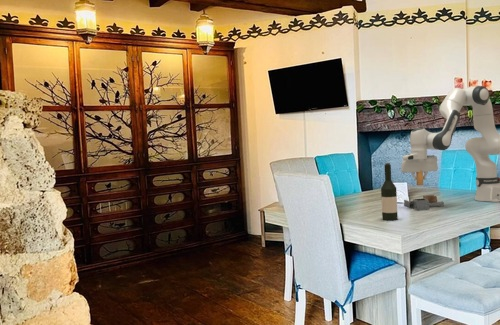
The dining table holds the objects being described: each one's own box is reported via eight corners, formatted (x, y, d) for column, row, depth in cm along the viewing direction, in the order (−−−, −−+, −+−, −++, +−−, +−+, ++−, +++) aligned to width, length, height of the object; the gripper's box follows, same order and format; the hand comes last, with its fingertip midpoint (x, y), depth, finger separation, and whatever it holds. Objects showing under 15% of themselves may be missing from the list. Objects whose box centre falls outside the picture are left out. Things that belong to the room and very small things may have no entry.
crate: (433, 203, 269) (432, 194, 268) (437, 204, 263) (436, 196, 262) (423, 203, 269) (422, 195, 269) (426, 205, 263) (426, 196, 263)
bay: (436, 203, 271) (436, 197, 271) (443, 206, 261) (443, 200, 261) (404, 205, 271) (404, 199, 271) (409, 208, 261) (409, 202, 261)
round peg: (422, 184, 257) (421, 169, 257) (424, 185, 254) (423, 169, 253) (415, 184, 258) (415, 169, 257) (418, 185, 254) (417, 170, 253)
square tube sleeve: (424, 207, 260) (424, 198, 260) (429, 209, 253) (428, 200, 253) (412, 208, 260) (412, 199, 260) (417, 210, 253) (416, 200, 253)
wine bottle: (379, 218, 238) (376, 163, 236) (394, 217, 238) (391, 162, 237) (385, 221, 229) (382, 164, 228) (400, 220, 230) (398, 163, 228)
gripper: (434, 154, 258) (435, 178, 258) (399, 156, 258) (400, 180, 259) (439, 155, 251) (440, 179, 252) (403, 157, 252) (404, 181, 253)
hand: (419, 179), depth 256 cm, fingers closed on round peg, 4 cm apart
